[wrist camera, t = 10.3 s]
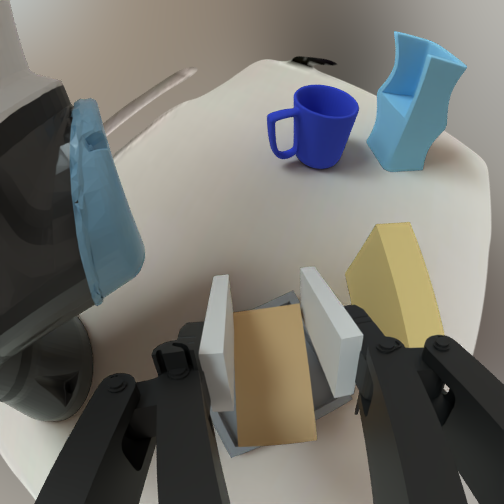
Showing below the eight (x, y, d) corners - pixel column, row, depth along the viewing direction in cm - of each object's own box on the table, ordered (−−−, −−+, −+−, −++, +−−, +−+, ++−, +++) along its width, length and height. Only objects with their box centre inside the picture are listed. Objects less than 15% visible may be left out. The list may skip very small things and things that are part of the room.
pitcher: (363, 138, 41) (393, 30, 24) (400, 137, 42) (435, 41, 24) (385, 172, 38) (431, 56, 20) (422, 170, 38) (471, 69, 21)
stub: (312, 437, 18) (317, 440, 10) (267, 442, 18) (238, 446, 10) (303, 356, 22) (299, 303, 14) (261, 361, 23) (232, 312, 15)
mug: (255, 151, 40) (253, 94, 31) (324, 134, 42) (334, 81, 33) (280, 190, 36) (285, 129, 27) (354, 167, 38) (372, 113, 29)
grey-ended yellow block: (395, 377, 25) (451, 364, 16) (365, 384, 25) (415, 377, 16) (372, 270, 31) (410, 220, 22) (344, 273, 31) (376, 222, 21)
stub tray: (233, 452, 22) (231, 457, 20) (183, 345, 27) (177, 341, 25) (344, 398, 24) (352, 398, 22) (290, 298, 29) (293, 290, 27)
